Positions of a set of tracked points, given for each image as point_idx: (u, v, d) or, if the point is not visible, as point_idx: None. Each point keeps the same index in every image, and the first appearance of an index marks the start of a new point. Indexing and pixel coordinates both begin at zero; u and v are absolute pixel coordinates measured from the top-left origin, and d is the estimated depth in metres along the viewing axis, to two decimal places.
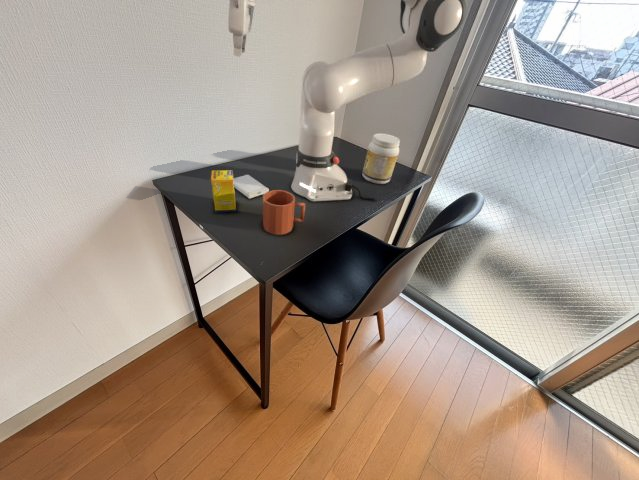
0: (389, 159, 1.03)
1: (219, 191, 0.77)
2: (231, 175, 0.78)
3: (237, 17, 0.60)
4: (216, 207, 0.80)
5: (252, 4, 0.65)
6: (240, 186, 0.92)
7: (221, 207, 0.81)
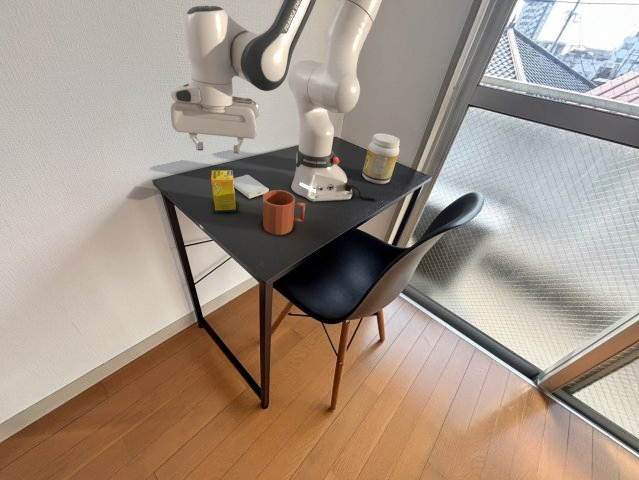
0: (389, 159, 1.03)
1: (219, 191, 0.77)
2: (231, 175, 0.78)
3: (256, 125, 0.70)
4: (216, 207, 0.80)
5: None
6: (240, 186, 0.92)
7: (221, 207, 0.81)
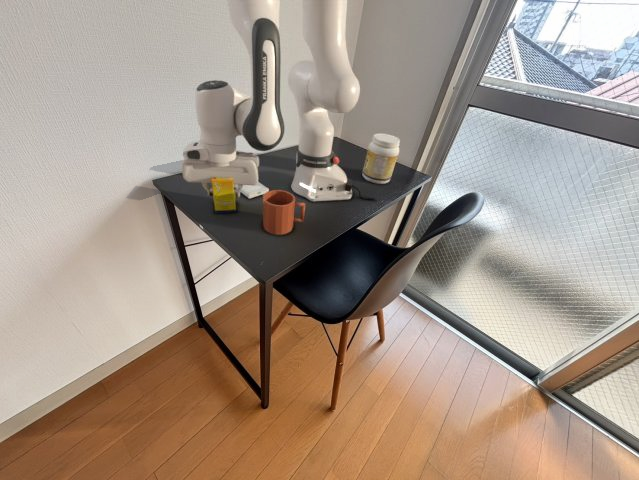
0: (389, 159, 1.03)
1: (219, 191, 0.77)
2: None
3: (257, 173, 0.78)
4: (216, 207, 0.80)
5: None
6: None
7: (221, 207, 0.80)
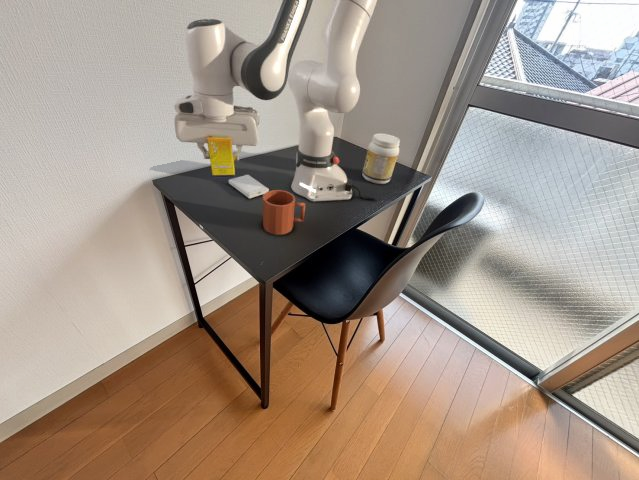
0: (389, 159, 1.03)
1: (216, 152, 0.70)
2: None
3: (257, 132, 0.72)
4: (213, 171, 0.73)
5: None
6: (240, 186, 0.92)
7: (219, 172, 0.74)
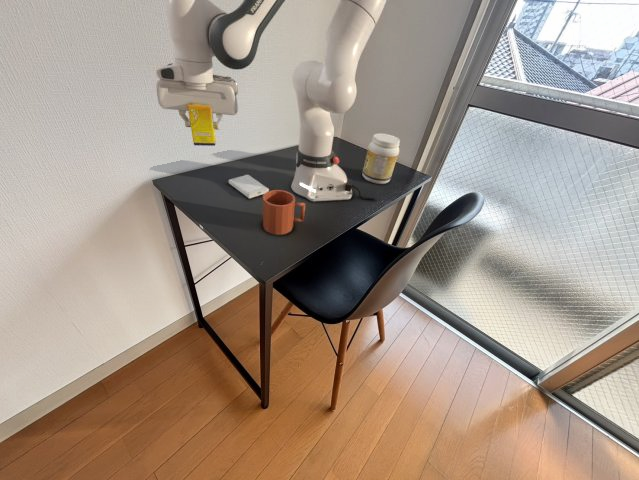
0: (389, 159, 1.03)
1: (196, 119, 0.75)
2: None
3: (236, 102, 0.76)
4: (194, 139, 0.77)
5: None
6: (240, 186, 0.92)
7: (200, 139, 0.78)
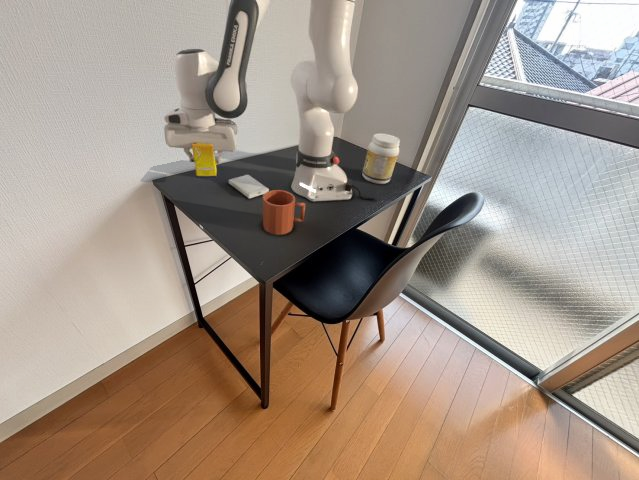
0: (389, 159, 1.03)
1: (199, 156, 0.83)
2: None
3: (236, 140, 0.84)
4: (197, 172, 0.86)
5: None
6: (240, 186, 0.92)
7: (203, 173, 0.86)
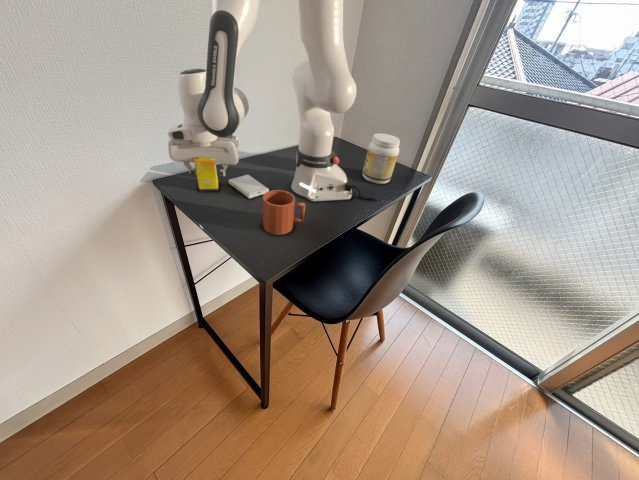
0: (389, 159, 1.03)
1: (201, 171, 0.85)
2: None
3: (237, 153, 0.87)
4: (200, 186, 0.88)
5: None
6: (240, 186, 0.92)
7: (205, 186, 0.89)
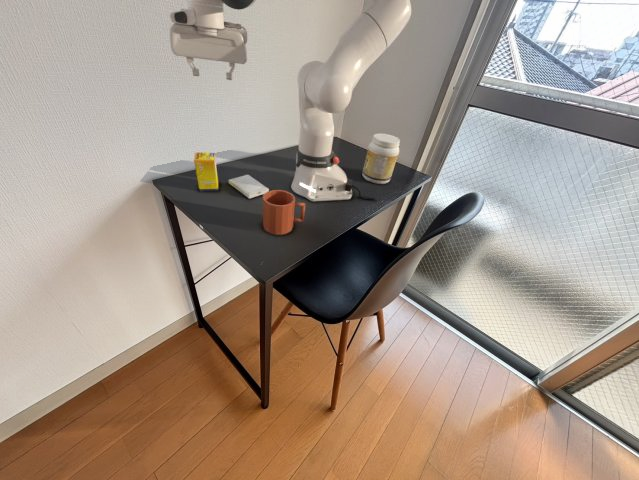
0: (389, 159, 1.03)
1: (201, 171, 0.85)
2: (213, 156, 0.86)
3: None
4: (200, 186, 0.88)
5: None
6: (240, 186, 0.92)
7: (205, 186, 0.89)
